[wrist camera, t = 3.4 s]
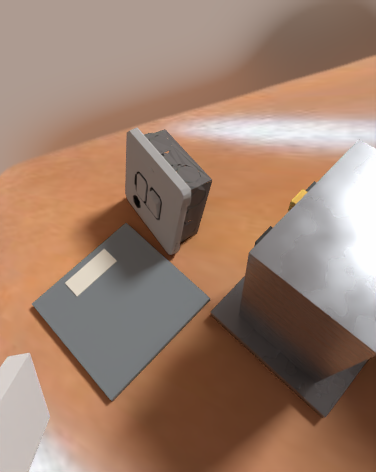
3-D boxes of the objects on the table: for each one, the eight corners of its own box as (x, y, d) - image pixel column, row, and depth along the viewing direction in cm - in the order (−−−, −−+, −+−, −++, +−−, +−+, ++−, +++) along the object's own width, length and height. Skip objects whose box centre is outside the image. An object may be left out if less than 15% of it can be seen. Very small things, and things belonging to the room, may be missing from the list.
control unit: (303, 217, 37) (345, 112, 25) (414, 293, 32) (534, 211, 20) (210, 315, 33) (204, 248, 21) (322, 417, 28) (400, 411, 16)
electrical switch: (125, 198, 40) (109, 135, 32) (164, 177, 41) (158, 112, 33) (171, 260, 36) (166, 205, 28) (212, 235, 37) (219, 176, 29)
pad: (127, 225, 38) (125, 222, 37) (210, 300, 34) (209, 297, 33) (34, 305, 35) (31, 303, 34) (112, 400, 30) (110, 400, 30)
